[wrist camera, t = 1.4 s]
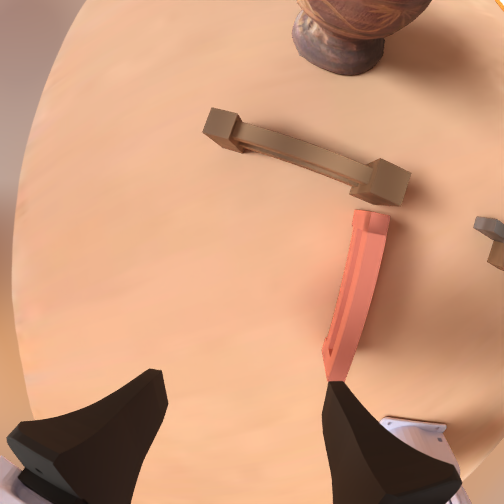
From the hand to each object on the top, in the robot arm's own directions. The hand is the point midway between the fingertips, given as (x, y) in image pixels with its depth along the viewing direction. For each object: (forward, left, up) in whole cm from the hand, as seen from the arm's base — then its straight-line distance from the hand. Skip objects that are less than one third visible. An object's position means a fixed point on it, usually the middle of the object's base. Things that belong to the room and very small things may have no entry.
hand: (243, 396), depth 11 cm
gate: (-5, -4, -11) cm, 12 cm away
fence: (-10, -12, -11) cm, 19 cm away
